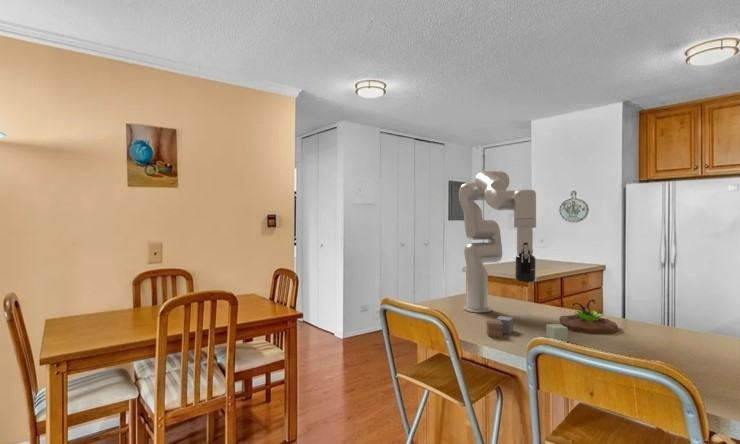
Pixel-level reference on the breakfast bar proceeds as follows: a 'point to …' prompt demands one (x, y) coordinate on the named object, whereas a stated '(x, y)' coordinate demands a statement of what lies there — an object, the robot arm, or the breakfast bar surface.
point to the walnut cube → (494, 328)
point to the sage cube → (557, 332)
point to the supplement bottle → (525, 277)
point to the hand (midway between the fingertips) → (525, 271)
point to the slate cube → (506, 324)
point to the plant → (588, 321)
